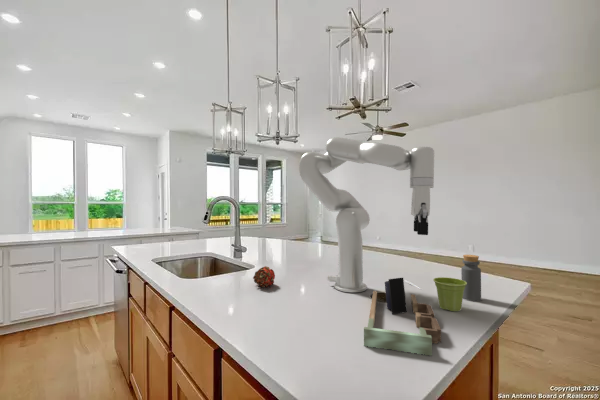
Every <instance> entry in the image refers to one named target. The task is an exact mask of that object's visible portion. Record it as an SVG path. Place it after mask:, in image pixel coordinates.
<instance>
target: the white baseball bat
mask: <svg viewBox="0 0 600 400" xmlns="http://www.w3.org/2000/svg"><path fill="white" fill-rule="evenodd" d="M403 280H404V283H406V284H409V285H411V286H413V287H415V288H417V289H419V290H423V288H422V287H419V286H418V285H416V284H415V283H414V282H411V281H410V280H407V279H403Z"/></svg>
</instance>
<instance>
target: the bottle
mask: <svg viewBox="0 0 600 400" xmlns="http://www.w3.org/2000/svg"><path fill="white" fill-rule="evenodd" d="M479 257H480V256H478V255H476V254H463V259H462V264H463V265H464V266H461V271H460V272H461V280H463V281H465V282H466V283H467V285H465V289H464V292H463V300H465V301H470V302H480V301H482V269H481V268H480V267H479V265H480V261H479Z"/></svg>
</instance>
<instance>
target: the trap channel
mask: <svg viewBox="0 0 600 400" xmlns="http://www.w3.org/2000/svg"><path fill="white" fill-rule="evenodd" d="M371 296H372V298H371V304H370V308H369V316H368V322H367V326H364V327H363V347H367V346H368V347H367V348H373V347H376V348H375V349H380V348H384V349H383V350H387V349H392V350H391V351H394V350H398V351H397V352H401V351H404V352H403V353H407V352H411V353H410V354H414V353H417V355H421V354H423V355H422V356H428V355H430V357H432V356H433V344H435V345H436V344H437V345H438V344H439V343H442V329H441V326H440V324H439V321H438V320H437V318H435V313H434V310H433V308H432V305H431V304H427V303H422V302H418V301H417V297H416V294H410V304H411V309H412V313H413V314H415V326H416V328H418V330H419V333H417V332H415V333H414V332H408V331H400V330H394V329H384V328H376V327H375V321H376V313H377V312H376V311H377V304H378V303H377V302H378V291H377V290H373V291H372V295H371ZM424 354H425V355H424Z"/></svg>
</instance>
